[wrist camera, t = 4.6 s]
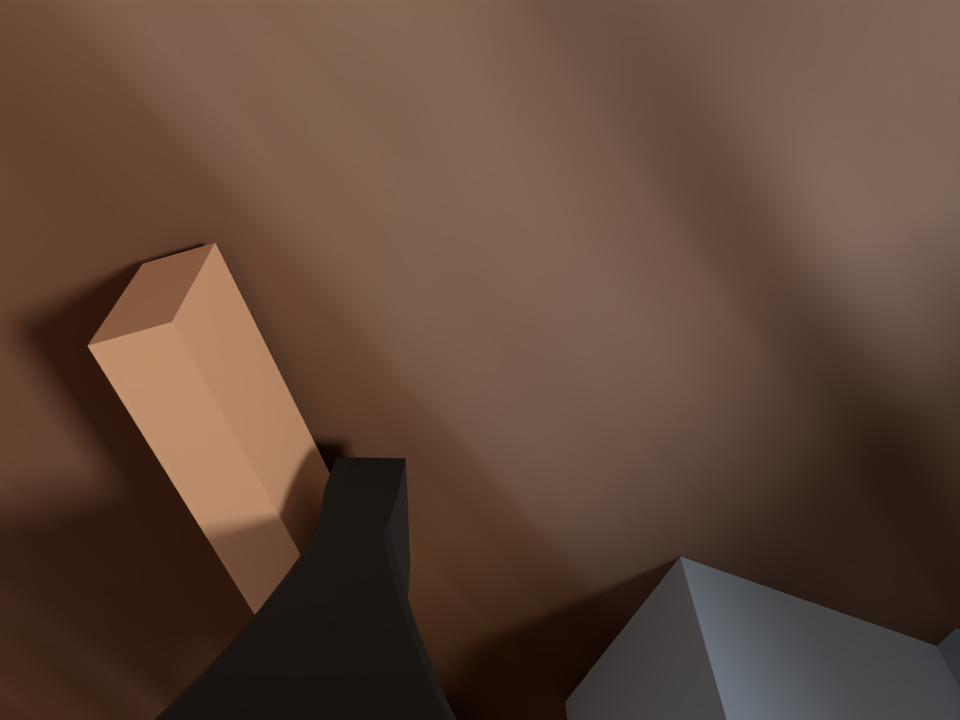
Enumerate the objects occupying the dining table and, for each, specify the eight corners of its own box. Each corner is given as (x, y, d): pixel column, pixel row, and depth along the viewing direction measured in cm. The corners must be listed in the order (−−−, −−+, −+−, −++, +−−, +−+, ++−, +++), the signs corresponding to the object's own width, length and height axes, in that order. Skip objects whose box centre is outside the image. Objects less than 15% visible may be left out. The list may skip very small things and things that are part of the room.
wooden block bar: (114, 272, 12) (40, 375, 10) (244, 234, 11) (196, 331, 9) (414, 795, 18) (408, 925, 16) (502, 778, 17) (508, 908, 15)
